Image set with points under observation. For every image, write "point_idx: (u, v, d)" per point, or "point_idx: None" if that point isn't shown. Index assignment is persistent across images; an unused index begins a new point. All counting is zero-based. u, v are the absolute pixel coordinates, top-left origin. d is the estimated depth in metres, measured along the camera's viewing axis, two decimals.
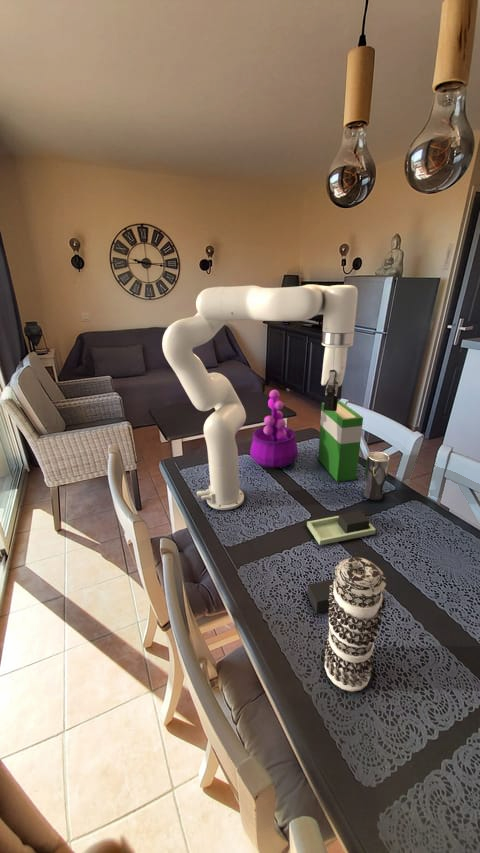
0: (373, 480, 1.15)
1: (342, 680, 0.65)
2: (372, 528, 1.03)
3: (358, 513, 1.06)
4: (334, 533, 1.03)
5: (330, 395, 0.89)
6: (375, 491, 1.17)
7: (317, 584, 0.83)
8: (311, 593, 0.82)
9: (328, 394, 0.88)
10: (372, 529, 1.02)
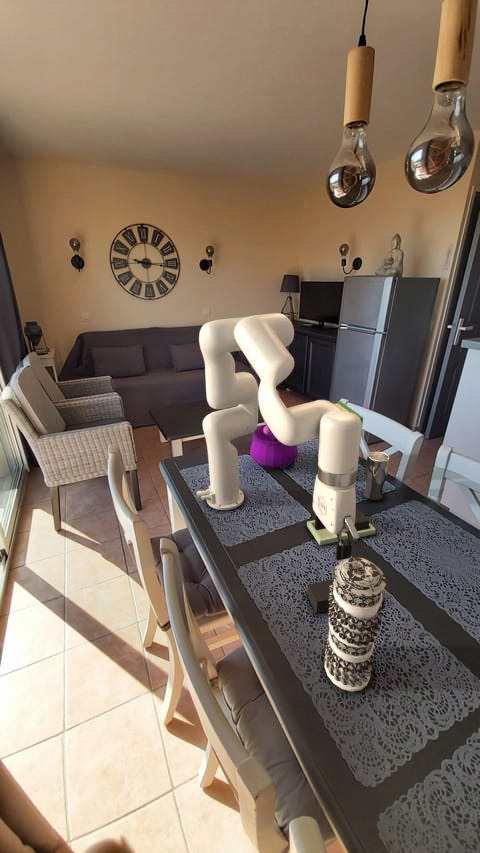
0: (373, 480, 1.15)
1: (342, 680, 0.65)
2: (372, 528, 1.03)
3: (358, 513, 1.06)
4: None
5: (347, 545, 0.70)
6: (375, 491, 1.17)
7: (317, 584, 0.83)
8: (311, 593, 0.82)
9: (346, 545, 0.70)
10: (372, 529, 1.02)
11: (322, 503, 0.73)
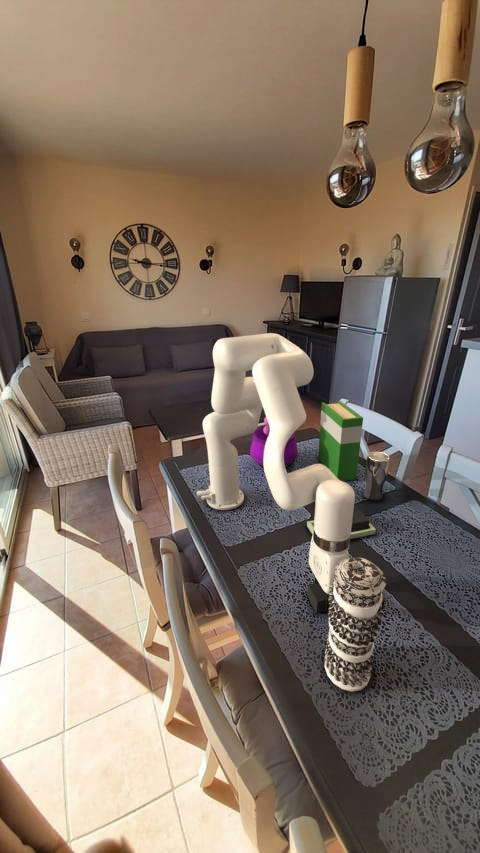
0: (373, 480, 1.15)
1: (342, 680, 0.65)
2: (372, 528, 1.03)
3: (358, 513, 1.06)
4: None
5: None
6: (375, 491, 1.17)
7: (317, 584, 0.83)
8: (311, 593, 0.82)
9: None
10: (372, 529, 1.02)
11: (317, 563, 0.78)
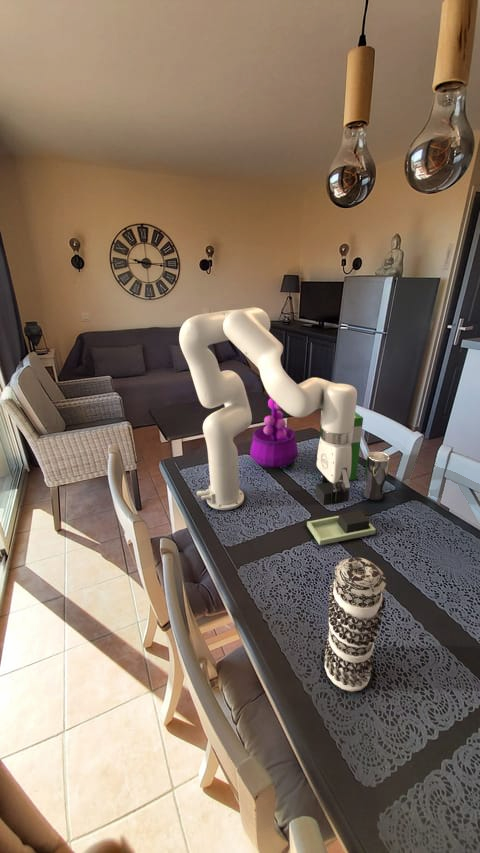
0: (373, 480, 1.15)
1: (342, 680, 0.65)
2: (372, 528, 1.03)
3: (358, 513, 1.06)
4: (334, 533, 1.03)
5: None
6: (375, 491, 1.17)
7: (324, 483, 0.96)
8: (319, 490, 0.94)
9: (339, 491, 0.89)
10: (372, 529, 1.02)
11: (324, 459, 0.90)
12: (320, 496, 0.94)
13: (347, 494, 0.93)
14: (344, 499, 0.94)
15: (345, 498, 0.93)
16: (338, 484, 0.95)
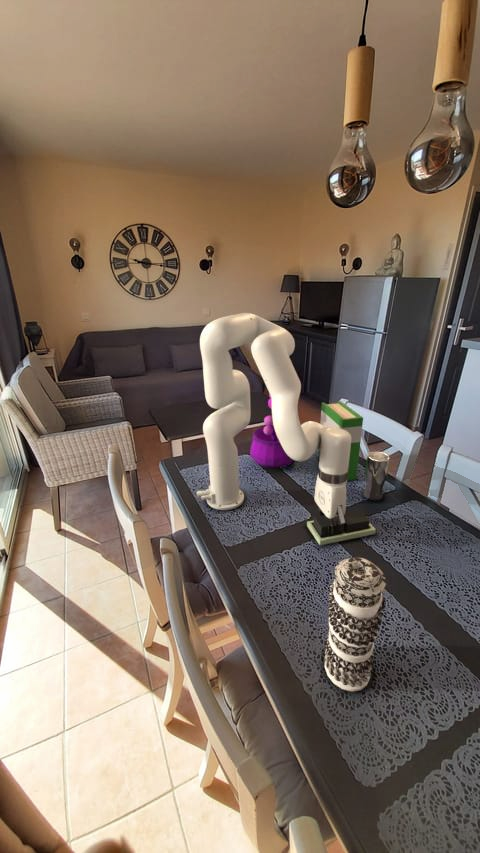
0: (373, 480, 1.15)
1: (342, 680, 0.65)
2: (372, 528, 1.03)
3: (358, 513, 1.06)
4: None
5: None
6: (375, 491, 1.17)
7: (321, 516, 1.04)
8: (316, 522, 1.02)
9: (335, 525, 0.98)
10: (372, 529, 1.02)
11: (321, 496, 0.98)
12: (318, 528, 1.02)
13: (342, 527, 1.01)
14: (340, 531, 1.02)
15: (341, 530, 1.02)
16: (334, 517, 1.03)
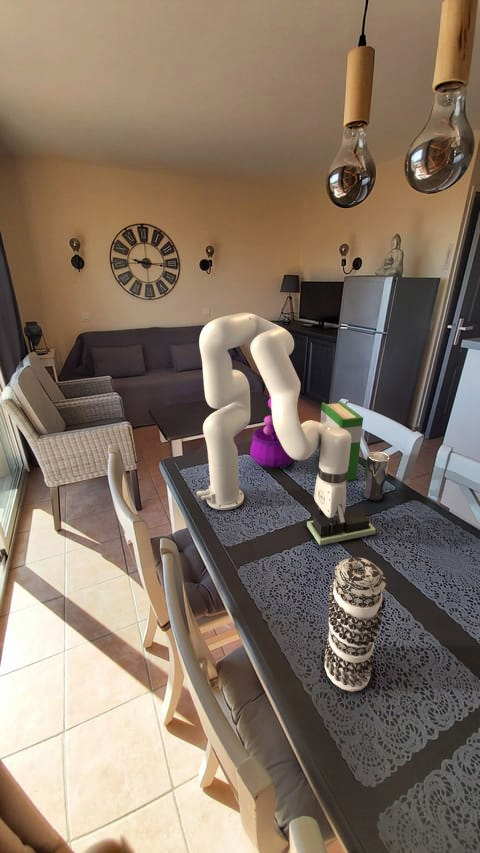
0: (373, 480, 1.15)
1: (342, 680, 0.65)
2: (372, 528, 1.03)
3: (358, 513, 1.06)
4: None
5: None
6: (375, 491, 1.17)
7: (321, 515, 1.04)
8: (316, 522, 1.02)
9: (334, 524, 0.98)
10: (372, 529, 1.02)
11: (321, 495, 0.98)
12: (317, 528, 1.02)
13: (342, 526, 1.01)
14: (339, 530, 1.02)
15: (340, 529, 1.02)
16: (334, 516, 1.03)
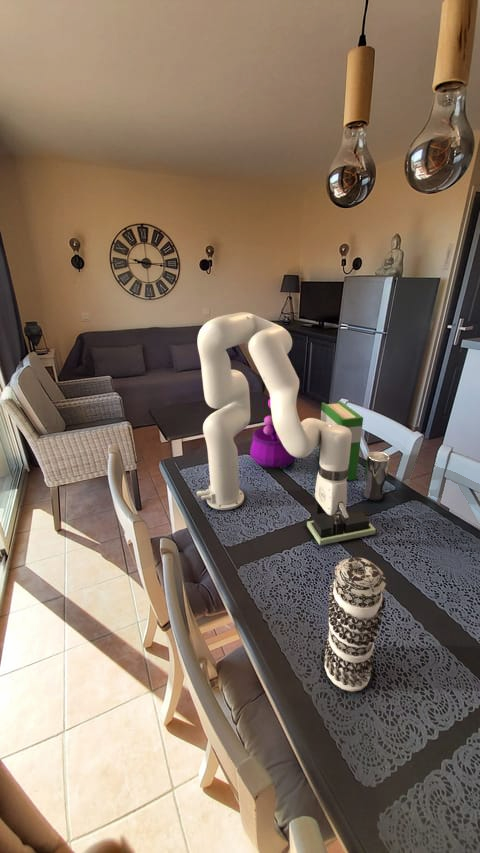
0: (373, 480, 1.15)
1: (342, 680, 0.65)
2: (372, 528, 1.03)
3: (358, 513, 1.06)
4: None
5: (340, 523, 0.95)
6: (375, 491, 1.17)
7: (321, 518, 1.04)
8: (316, 525, 1.03)
9: (339, 523, 0.95)
10: (372, 529, 1.02)
11: (322, 493, 0.98)
12: (317, 530, 1.02)
13: None
14: None
15: None
16: None
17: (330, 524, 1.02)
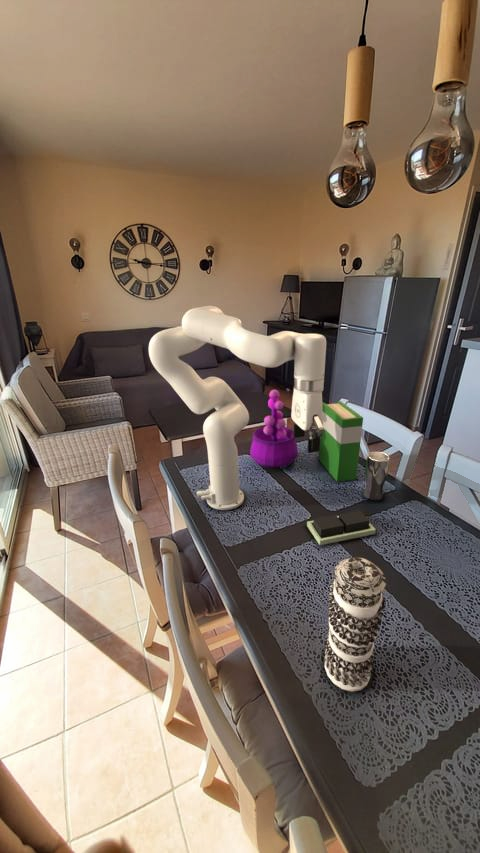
0: (373, 480, 1.15)
1: (342, 680, 0.65)
2: (372, 528, 1.03)
3: (358, 513, 1.06)
4: None
5: (316, 438, 0.92)
6: (375, 491, 1.17)
7: (321, 518, 1.04)
8: (316, 525, 1.03)
9: (315, 438, 0.91)
10: (372, 529, 1.02)
11: (297, 408, 0.94)
12: (317, 530, 1.02)
13: (342, 529, 1.02)
14: (339, 533, 1.02)
15: (340, 532, 1.02)
16: (334, 519, 1.04)
17: (330, 524, 1.02)
